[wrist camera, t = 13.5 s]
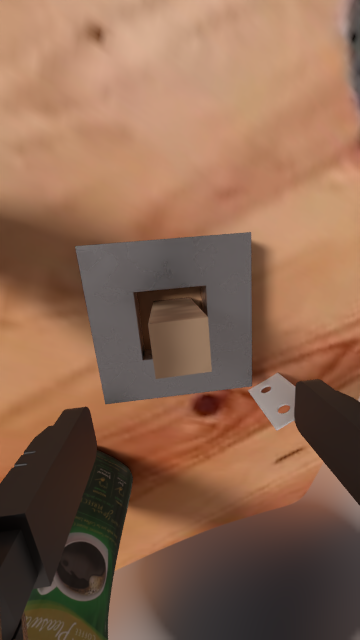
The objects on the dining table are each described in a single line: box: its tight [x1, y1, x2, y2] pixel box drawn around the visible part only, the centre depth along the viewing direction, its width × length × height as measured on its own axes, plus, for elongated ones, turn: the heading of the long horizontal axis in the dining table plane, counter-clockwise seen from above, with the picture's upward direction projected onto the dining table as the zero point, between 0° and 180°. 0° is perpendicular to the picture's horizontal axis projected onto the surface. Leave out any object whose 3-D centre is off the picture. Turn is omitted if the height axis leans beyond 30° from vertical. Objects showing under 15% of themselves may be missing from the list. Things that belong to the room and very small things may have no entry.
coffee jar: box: [24, 450, 133, 640], centre depth 20 cm, size 10×8×19 cm
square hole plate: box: [75, 232, 252, 404], centre depth 23 cm, size 16×16×3 cm
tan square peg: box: [148, 297, 212, 379], centre depth 20 cm, size 4×4×10 cm
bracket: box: [248, 373, 296, 430], centre depth 24 cm, size 11×4×10 cm, turn 32°
